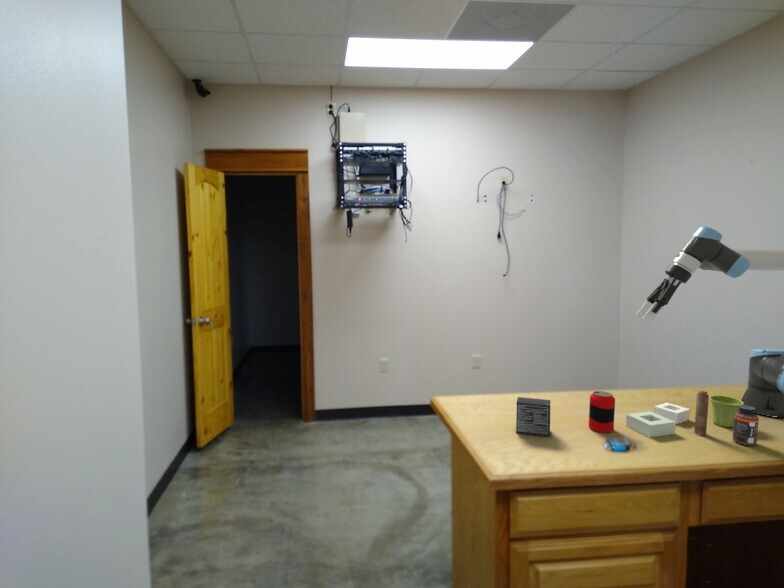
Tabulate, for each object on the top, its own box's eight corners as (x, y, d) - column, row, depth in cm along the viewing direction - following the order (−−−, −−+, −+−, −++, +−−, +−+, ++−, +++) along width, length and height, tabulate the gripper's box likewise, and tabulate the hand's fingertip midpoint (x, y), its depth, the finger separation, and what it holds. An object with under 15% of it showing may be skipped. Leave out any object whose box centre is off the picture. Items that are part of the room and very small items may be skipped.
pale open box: (650, 422, 159) (650, 411, 159) (674, 434, 150) (675, 422, 149) (625, 425, 157) (626, 414, 156) (649, 437, 147) (650, 425, 147)
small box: (550, 430, 153) (551, 399, 152) (549, 437, 147) (551, 405, 146) (517, 426, 157) (517, 395, 156) (515, 433, 151) (516, 402, 149)
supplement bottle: (757, 448, 139) (760, 411, 138) (733, 444, 142) (736, 408, 141) (755, 441, 144) (758, 406, 143) (731, 437, 147) (734, 402, 146)
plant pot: (743, 424, 158) (745, 399, 157) (739, 432, 151) (741, 406, 150) (710, 417, 164) (712, 393, 163) (705, 424, 157) (707, 400, 157)
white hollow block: (666, 413, 168) (666, 402, 168) (689, 420, 162) (690, 409, 161) (653, 417, 164) (654, 406, 164) (676, 424, 157) (677, 413, 157)
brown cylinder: (699, 431, 152) (702, 389, 150) (708, 435, 149) (711, 392, 147) (691, 432, 151) (694, 390, 150) (700, 436, 148) (703, 393, 147)
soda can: (594, 422, 159) (595, 388, 158) (617, 428, 154) (618, 393, 153) (584, 428, 154) (586, 393, 153) (608, 435, 149) (610, 399, 147)
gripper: (663, 263, 172) (626, 310, 176) (681, 260, 148) (639, 314, 153) (682, 275, 170) (645, 322, 174) (704, 273, 147) (660, 328, 151)
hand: (642, 318), depth 164 cm, fingers open, 13 cm apart
